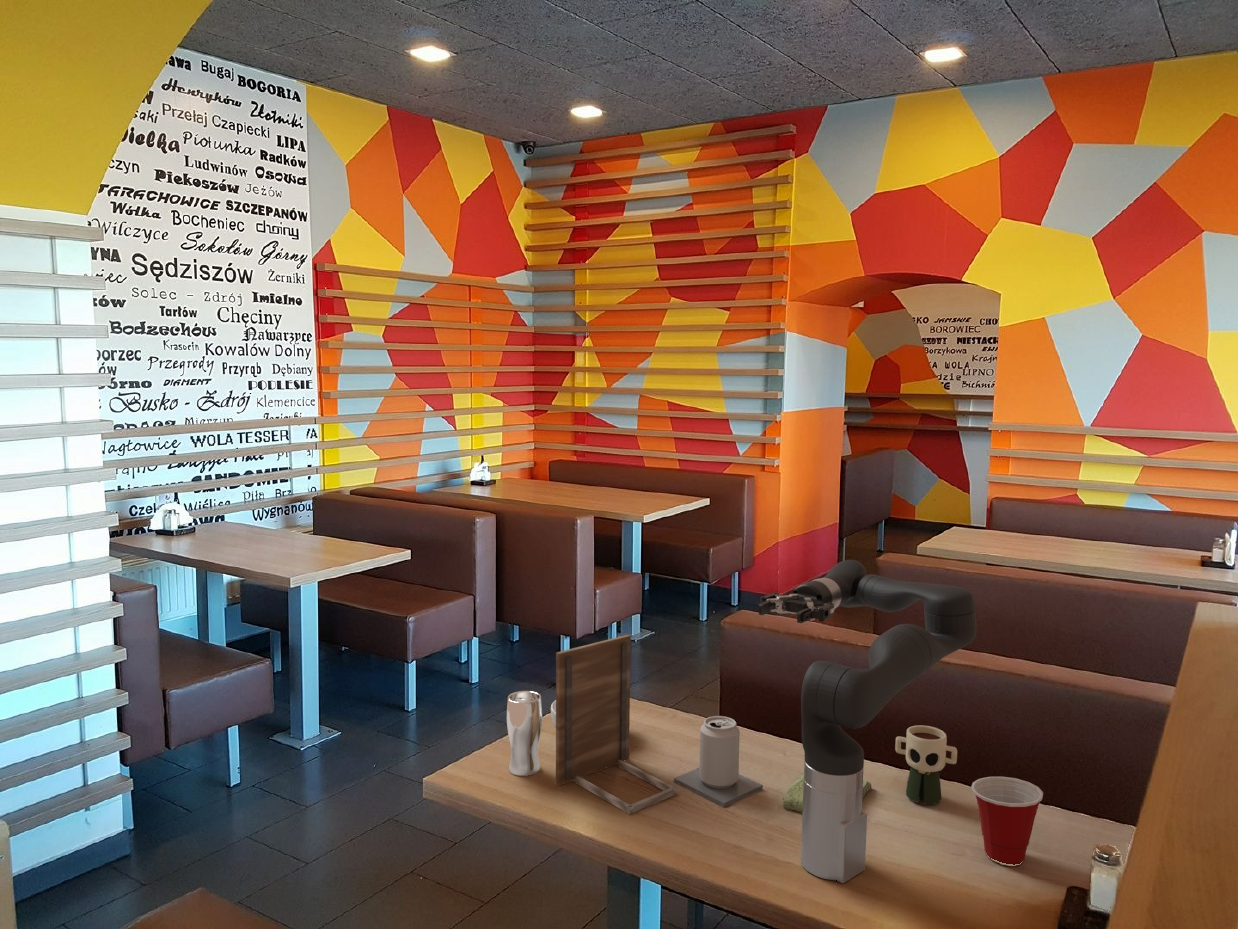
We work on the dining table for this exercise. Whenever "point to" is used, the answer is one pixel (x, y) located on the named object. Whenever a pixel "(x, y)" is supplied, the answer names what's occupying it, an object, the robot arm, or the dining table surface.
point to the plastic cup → (1006, 816)
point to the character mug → (925, 761)
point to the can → (719, 752)
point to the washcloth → (795, 794)
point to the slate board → (718, 795)
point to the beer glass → (524, 731)
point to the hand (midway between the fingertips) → (779, 614)
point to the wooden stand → (597, 718)
